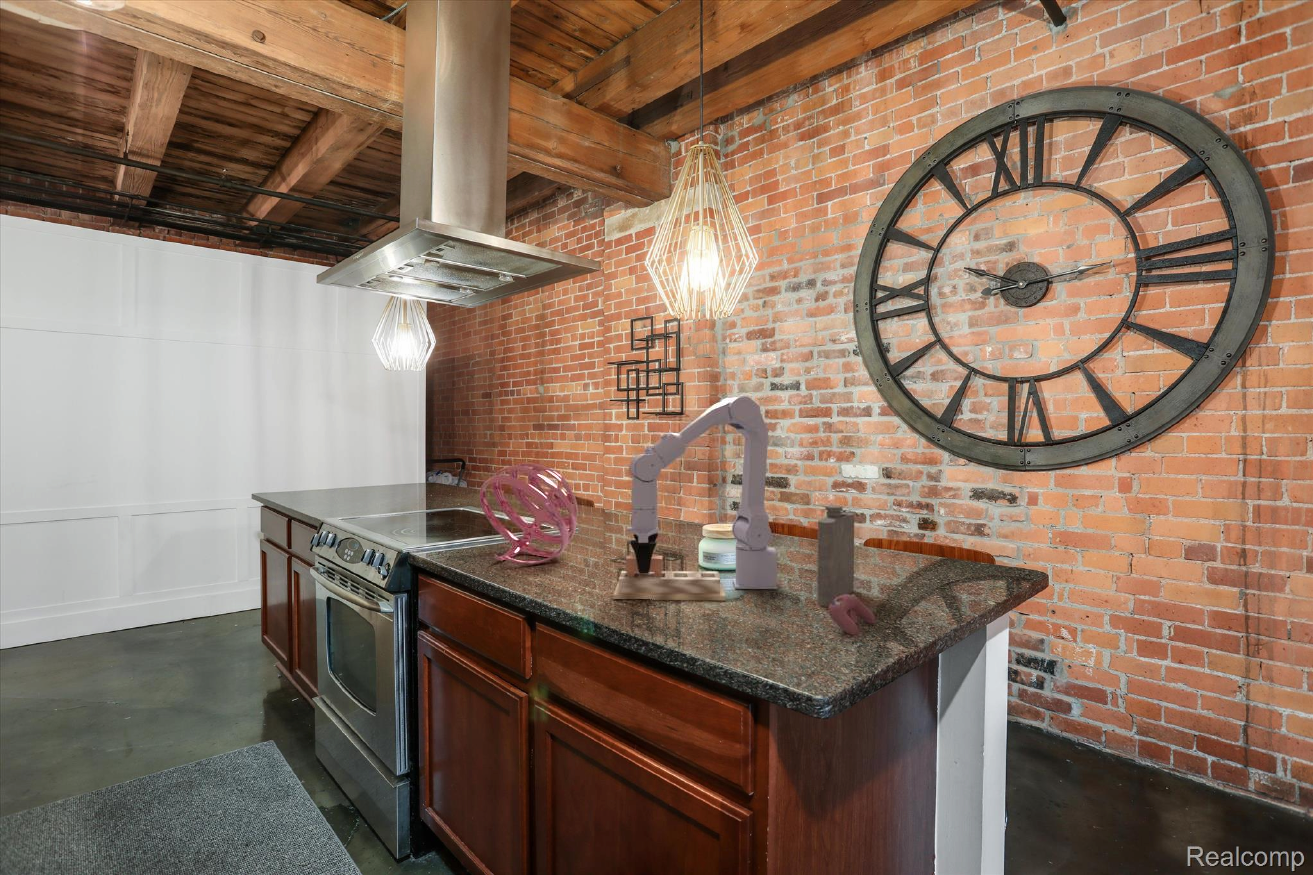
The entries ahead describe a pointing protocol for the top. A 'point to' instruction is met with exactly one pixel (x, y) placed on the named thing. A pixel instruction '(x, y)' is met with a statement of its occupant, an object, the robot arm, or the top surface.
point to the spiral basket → (532, 510)
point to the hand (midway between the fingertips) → (644, 568)
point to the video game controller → (849, 613)
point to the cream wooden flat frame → (671, 586)
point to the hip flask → (835, 555)
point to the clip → (654, 567)
